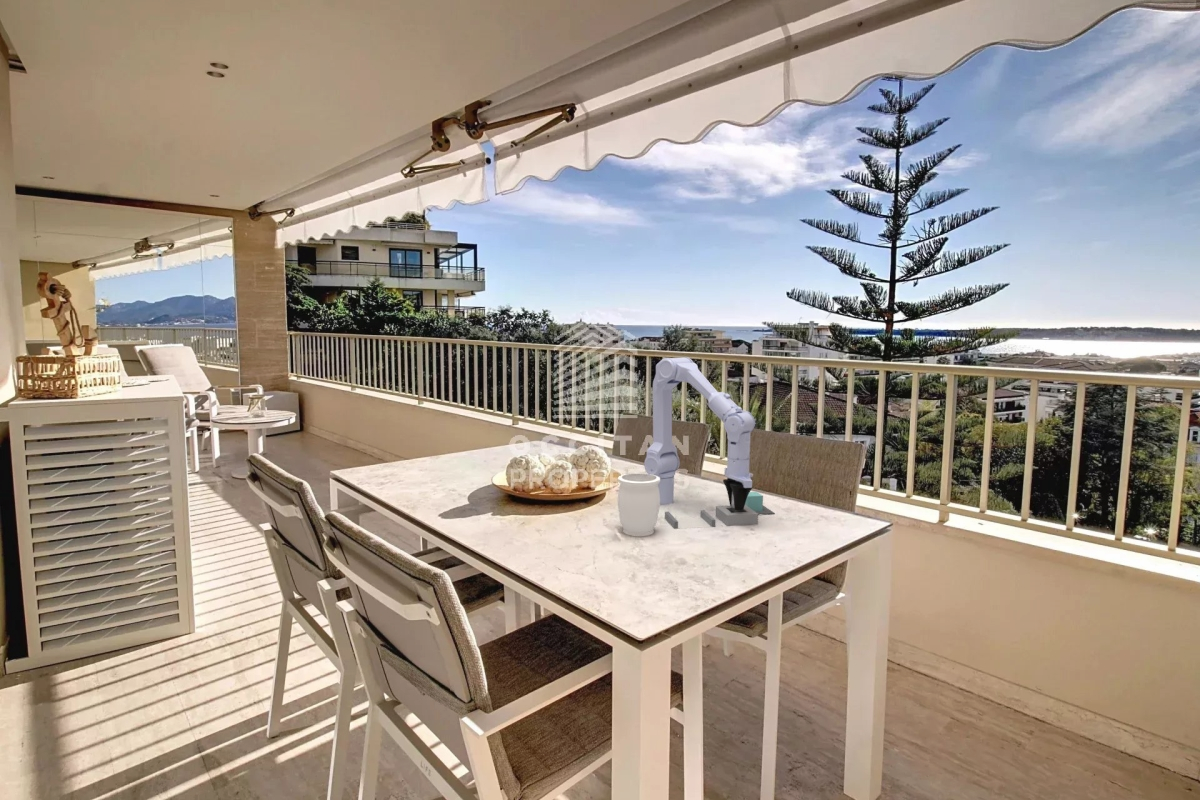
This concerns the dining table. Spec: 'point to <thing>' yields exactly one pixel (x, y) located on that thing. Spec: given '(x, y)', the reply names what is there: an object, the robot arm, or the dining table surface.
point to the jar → (638, 503)
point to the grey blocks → (708, 521)
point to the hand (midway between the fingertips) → (736, 507)
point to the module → (754, 501)
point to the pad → (765, 511)
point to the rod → (734, 507)
